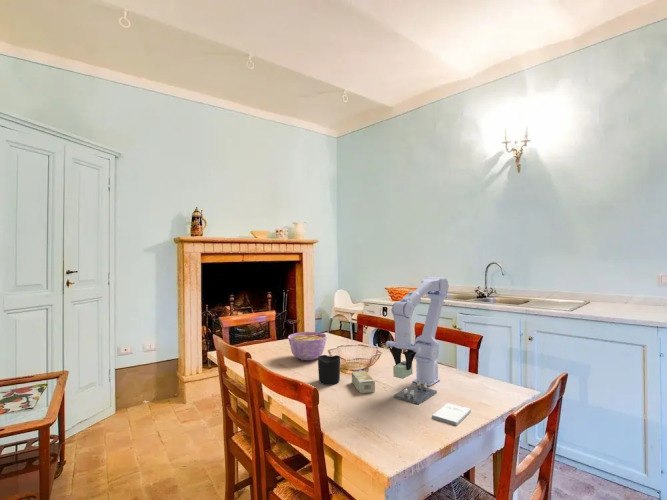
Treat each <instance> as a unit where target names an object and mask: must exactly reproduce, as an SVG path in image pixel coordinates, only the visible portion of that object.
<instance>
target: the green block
mask: <svg viewBox="0 0 667 500" xmlns="http://www.w3.org/2000/svg"><path fill="white" fill-rule="evenodd" d="M392 368H393V373H392V374H393V378H394V377H395V378H399V379H402V380H403V379H405V378H407V377H410V376H411V375H413V365H412V366H411V369H410V370H407V369H406V360H403V361H401V363H399V364H397V365H396V364H395V365H393V366H392Z"/></svg>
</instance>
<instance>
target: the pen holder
mask: <svg viewBox="0 0 667 500" xmlns="http://www.w3.org/2000/svg"><path fill="white" fill-rule="evenodd" d="M317 366H318V367H317V368H318V369H317V370H318V382H319V383H320V384H322V385H328V386H329V385H330V386H331V385H332V386H333V385H336V384H338V383H339V382H340V379H341V378H340V377H341V357H340V355H333V356H332V355H331V356H330V355H326V354H321V356H319V357H317Z"/></svg>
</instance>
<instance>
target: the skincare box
mask: <svg viewBox="0 0 667 500" xmlns="http://www.w3.org/2000/svg"><path fill="white" fill-rule="evenodd" d="M351 383H352V384H353V385H354V387H355V388H356V390H357V391H358V393H359V394H366V393H367V394H368V393H375V392H376V384H375V383H376V381H375V380H374V379H373V378H372V376H370V374H369V373H368V372H367V371H362V370H361V371H353V372H351Z"/></svg>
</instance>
